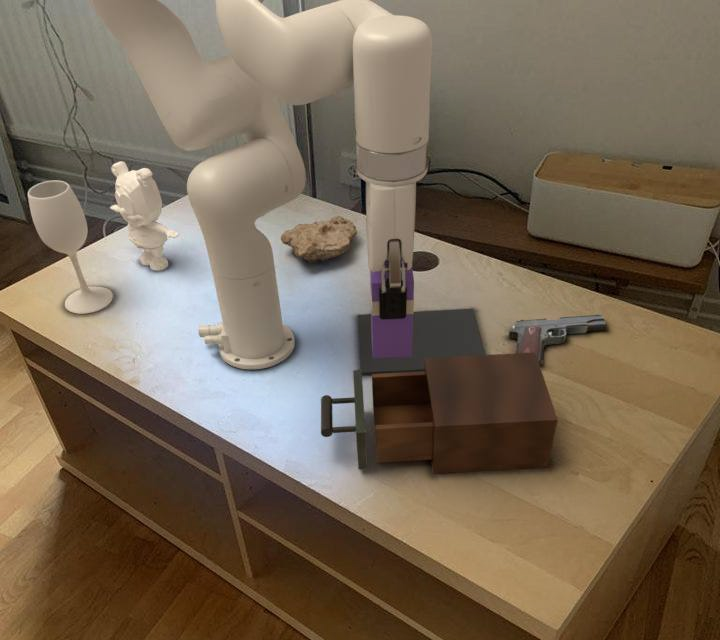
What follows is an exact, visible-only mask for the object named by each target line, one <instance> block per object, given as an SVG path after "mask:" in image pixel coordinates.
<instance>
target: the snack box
mask: <svg viewBox="0 0 720 640" xmlns="http://www.w3.org/2000/svg"><path fill="white" fill-rule="evenodd" d="M384 264H389V262H385V263H384ZM400 264H402V261H401V262H400ZM369 275H370V280H369V281H370V283H369V285H370V314H371V332H372V351H373V358H393V357H412V338H413V312H415V310H414V306H415V277H414V270H413V266H412V267H411V268H410V269H409V270H408V271H407V270H406V269H405V287H406V288H407V303H406V317H405V318H404V319H380V315H379V289H380V288H381V271H375V272H372V271H371V270H370V269H369ZM387 278H389V272H386V280H387Z"/></svg>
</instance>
